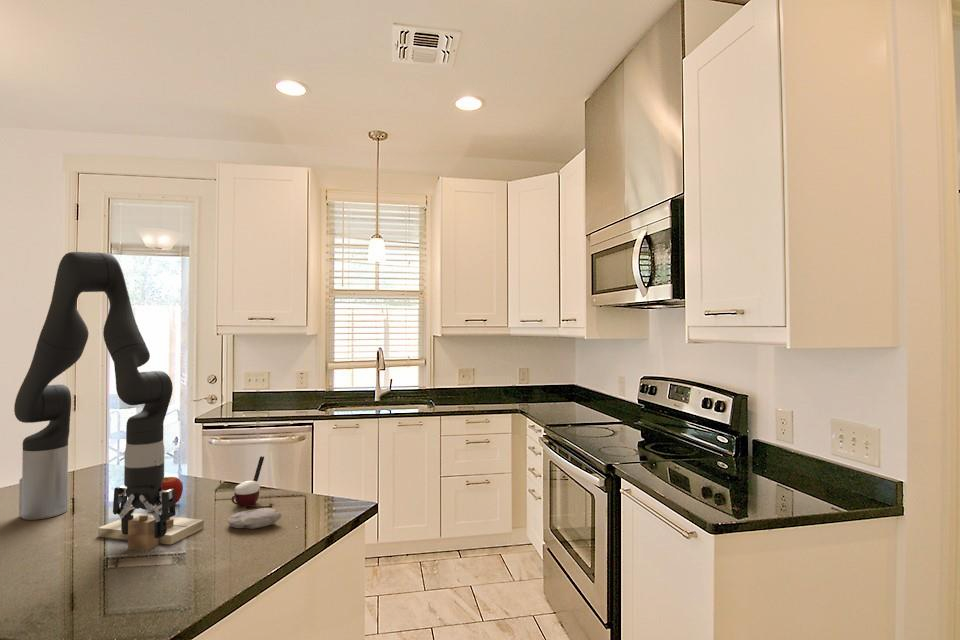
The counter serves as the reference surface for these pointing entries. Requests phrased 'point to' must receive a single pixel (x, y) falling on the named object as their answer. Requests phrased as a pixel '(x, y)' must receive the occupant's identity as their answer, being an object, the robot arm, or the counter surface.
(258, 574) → the counter surface
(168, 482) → the apple
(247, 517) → the fossil
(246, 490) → the cocoa
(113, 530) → the board
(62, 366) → the robot arm
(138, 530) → the block
